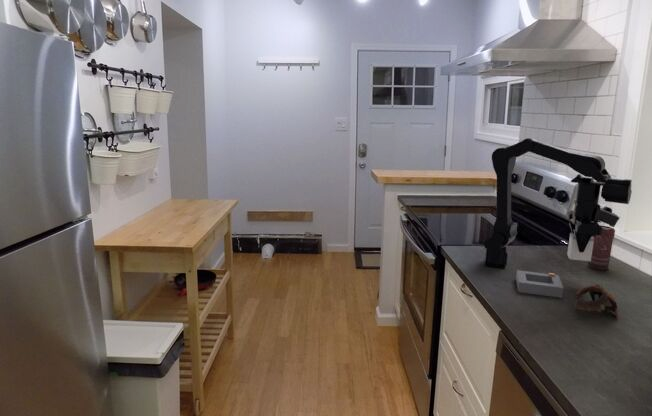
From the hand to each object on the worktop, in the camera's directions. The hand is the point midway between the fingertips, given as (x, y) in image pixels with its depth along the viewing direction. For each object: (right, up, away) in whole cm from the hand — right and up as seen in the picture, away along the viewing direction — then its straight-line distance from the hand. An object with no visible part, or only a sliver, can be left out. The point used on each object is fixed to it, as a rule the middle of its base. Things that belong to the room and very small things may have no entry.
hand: (579, 249), depth 136 cm
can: (+16, -8, +17) cm, 24 cm away
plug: (0, -2, +1) cm, 3 cm away
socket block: (-13, -11, -1) cm, 17 cm away
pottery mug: (-5, -15, -16) cm, 23 cm away
